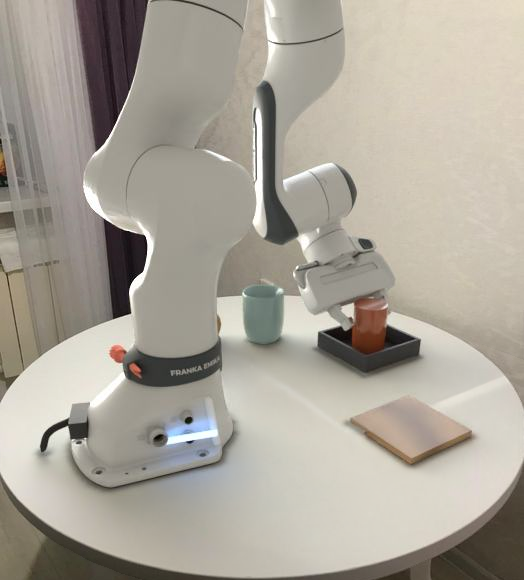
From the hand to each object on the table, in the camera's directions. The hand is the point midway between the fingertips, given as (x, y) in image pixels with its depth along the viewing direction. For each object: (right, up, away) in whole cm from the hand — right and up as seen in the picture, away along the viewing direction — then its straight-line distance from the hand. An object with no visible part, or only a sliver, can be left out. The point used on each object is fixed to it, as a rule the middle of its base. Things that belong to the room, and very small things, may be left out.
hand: (368, 321), depth 105 cm
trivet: (+2, -17, -21) cm, 27 cm away
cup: (-19, -3, +8) cm, 21 cm away
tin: (0, -6, +2) cm, 6 cm away
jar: (0, -5, +2) cm, 6 cm away
